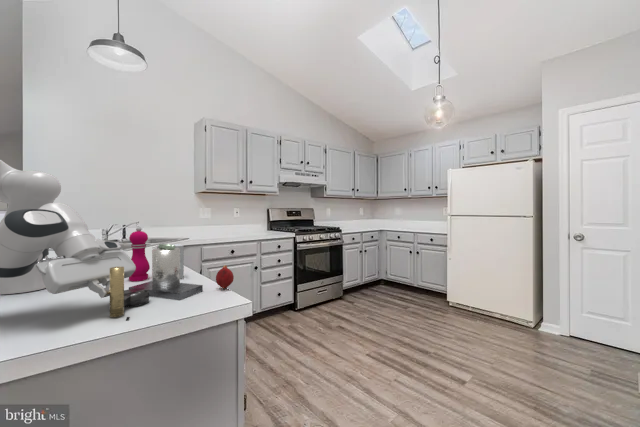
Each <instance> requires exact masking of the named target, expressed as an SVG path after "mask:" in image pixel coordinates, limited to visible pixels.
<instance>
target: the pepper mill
mask: <svg viewBox="0 0 640 427" xmlns="http://www.w3.org/2000/svg"><path fill="white" fill-rule="evenodd" d="M128 238H129V239H128V240H129V242H130V243H131V244H130V245H131V247H130V248H131V250H132V253H131V255H132V256H131V257H130V258H131V260H132V261H133V263H134V264H135V266H136V269H135V272H134V273H133V274H132V275H131V276H130V277H128V281H129V282H133V283H134V282H143V281H144V282H145V281H147V280H149V273H148V272H149V271H150V270H151V266H150V262H149V260H148V258H147V256H146V248H147V243H146V242H147V241H148V240H149V235H148V234H147V233H146V232H145V231H142V227H140V226H137V227H136V228H135V231H133V232H132V233H130V235H129V236H128Z"/></svg>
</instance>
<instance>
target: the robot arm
mask: <svg viewBox="0 0 640 427" xmlns="http://www.w3.org/2000/svg"><path fill="white" fill-rule="evenodd" d="M61 191H62V186H61V183H60V180H58V178H57V177H55V176H54V175H53V174H51V173H48V172H45V171H42V170H32V169H31V170H20V169H17V168H15V167H12V166H11V165H9V164H7V163H6V162H4V161H3V160H2V159H0V202H1V203H4V204H7V208H6V211H5V214H4V217H3V218H2V219H1V220H0V296H1V295H13V294H22V293H23V294H24V293H28V292H35V291H38V290H44V289H46V291H47V292H49V293H50V294H52V295H57V294H62V293H66V292H69V291H75V290H79V289H84V288H88V289H89V291H92V292H94V293H95V294H98V296H99V297H100V299H103V298H104V299H105V298H107V297H110V268H111V267H119V266H122V267H124V279H129V277H130V276H131V275H132V274H133V273H134V272H135V269H136V266H135V264H134V263H133V261H132V260H131V258H132V257H130V256H129V254H128V253H127V252H126V251H124V250H123V249H121V248H122V245H121V244H120V242H115V241H108V240H104V239H99V238H96V237H95V236H94V235H93V234H92V233H91V232H90V231H89V228H88V225H87V224H86V222H85V221H84V219H83V217H81V215H80V214H79V213H78V212H77V211H76V210H75V209H74V208H73V207H71V206H70V205H68V204H66V203H62V202H55V200H56V199H57V198H58V197H59V196H60V194H61ZM50 249H51V250H53V251H54V253H55V255H56V256H55V257H49V254H50ZM100 284H101V285H100Z"/></svg>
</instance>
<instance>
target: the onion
mask: <svg viewBox="0 0 640 427" xmlns="http://www.w3.org/2000/svg"><path fill="white" fill-rule="evenodd" d="M234 277H235V276H234V273H233V271H232V270H231V269H230V268H228V265H226V264H225V265H224V264H223V266H222V267H221V269H220V270H218V271H217V273H216V275H215V283H217V285H218V286H219V287H221V288H222V289H225V288H226V289H227V288H228V287H229V286H230V285H231V284H232V283H233V282H234ZM223 287H224V288H223Z"/></svg>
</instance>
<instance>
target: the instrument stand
mask: <svg viewBox="0 0 640 427" xmlns="http://www.w3.org/2000/svg"><path fill="white" fill-rule="evenodd" d="M158 245H159V246H158V249H157V248H154V249H152V250H151V252H152V253H151V262H152V264H151V281H147V282H144V283H140V284H136V285H135V284H134V285H132V286H129V287H128V289H137V288H144V289H148V290H149V297H152V298H153V297H154V298H162V299H168V300H169V299H170V300H176V301H177V300H178V301H180V300H184V299H187V298H188V296H189V297H191V295H192V296H194V295H197V294H199V293H201V291H202V292H203V289H204V288H203V284H194V283H183V282H181V279H180V248H175V245H171V244H170V243H169V244H167V243H166V244H165V243H160V244H158ZM198 292H199V293H198ZM196 293H197V294H196ZM193 294H194V295H193ZM130 318H131V317H130V316H127V317H126V319H125V321H130Z"/></svg>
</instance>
